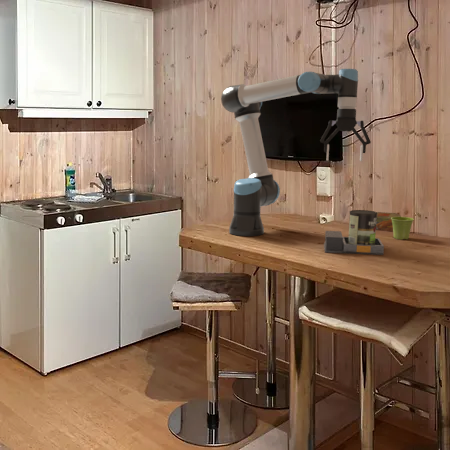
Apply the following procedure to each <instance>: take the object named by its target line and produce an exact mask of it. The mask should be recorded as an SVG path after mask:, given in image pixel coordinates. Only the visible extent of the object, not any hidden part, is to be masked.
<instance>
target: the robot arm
mask: <svg viewBox="0 0 450 450" xmlns="http://www.w3.org/2000/svg"><path fill="white" fill-rule="evenodd" d="M358 86H359V71H358V69H355V68H341V69H339V71H338V74H324V73H318V72H314V71H304V72H303V73H301V74H297V75H293V76H292V75H291V76H288V77H283V78H279V79H274V80H268V81H264V82H259V83H254V84H249V85H246V84H244V83H241V84H237V85H230V86H226V88H225V89H224V90H223V91H222V92H221V96H220V101H221V105H222V107H223V108H224V109H225V110H226V111H227V112H230V113H233V115H234V118H235V119H234V120H235V121H237V122H238V123H239V128H240V133H241V137H242V142H243V147H244V153H245V156H246V157H245V158H246V162H247V168H248V172H249V175H248V177H246V178H240V179H238V180H236V181H235V182H234V186H233V216H232V219H231V222H230V224H229V230H228V233H229V234H231V235H233V236H234V235H235V236H239V237H241V236H242V237H243V236H244V237H255V236H261V235H264V234H265V229H264V224H263V221H262V216H261V208H262V207H266V206H269V205H272V204H275V202H276V201H277V200H278V199H279V197H280V195H281V194H280V193H281V191H280V189H281V188H280V186H279V183H278V182H277V181H276V180H275V179H274V175H273V173H272V172H271V171H269V168H268V167H269V166H268V163H267V162H268V161H267V157H266V152H265V147H264V146H265V145H264V142H263V138H262V131H261V126H260V122H259V118H260V116H261V115H262V113H261V107H262V106H263V102H266V101H271V100H276V99H277V100H278V99H282V98H286V97H291V96H292V97H293V96H299V95H304V94H309V93H310V94H311V93H312V94H316V95H321V94H323V95H325V94H337V108H338V109H337V111H336V112H337V113H336V120H332V119H330V120H329V121H328V125H327V128H326V129H325V131H324V133H323V135H322V136H321V137H320V138H321V139H320V140H319V141H320V143H322V144H323V152H324V153H326V158H325V159H326V160H325V161H327V162H328V161H329V157H330V156H329V155H330V153H329V152H330V144H329V142H331V140H332V139H333V138H334V137H335V136H336V135H337V134H338V133H339V131H340V132H349V133H350V132H352V133H353V134H354V136H356V138H357V139H358V140H359V142H360V143H361V145H360V149H359V150H360V151H359V152H360V153H359V154H360V155H359V162H361V163H362V162H363V158H364V157H363V154H366V151H367V145H370V144H371V143H372V141H371V140H370V137H369V135H368V132H367V130H366V127H365V124H364V120H359V121H357V109H356V108H357V103H358ZM334 125H336V127H337V128H335V130H334V131H333V132H332V133H331V134H330V135H329V136H328V133H330V130H331V128H332V127H333V126H334ZM357 125H358V127H360V130H361V133H363V136H364V138H363V137H362V136H361V135H360V133H359V132H358V131H357V130H356V128H355V127H356V126H357ZM327 136H328V138H327V139H325V138H326V137H327ZM364 139H365V140H364Z"/></svg>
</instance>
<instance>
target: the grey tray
mask: <svg viewBox="0 0 450 450" xmlns="http://www.w3.org/2000/svg"><path fill="white" fill-rule="evenodd" d="M324 239H325V240H324V242H323V249H324V253H330V254H331V253H332V254H351V255H373V256H374V255H376V256H384V254H385V253H384V249H385V245H384V244H383V242H382V241H381V239H380V238H379V237H378V238H377V237H375V245H362V244H348V239H349V236H343V233H342V231H339V230H325V237H324Z"/></svg>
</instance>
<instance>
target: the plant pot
mask: <svg viewBox="0 0 450 450" xmlns="http://www.w3.org/2000/svg"><path fill="white" fill-rule="evenodd" d="M391 219H392V223H393V231H392V233H393V238H394V239H396V240H400V241H402V240H409V238H410V232H411V228H412V224H413V221H414V220H415V219H414V218H413V217H407V216H401V217H391Z"/></svg>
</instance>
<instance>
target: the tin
mask: <svg viewBox="0 0 450 450" xmlns="http://www.w3.org/2000/svg"><path fill="white" fill-rule="evenodd" d="M391 217H402V216H401V215H400V214H399V213H396V212H385V211H384V212H381V211H377V220H376V231H384V232H385V231H386V232H393V223H392V219H391Z"/></svg>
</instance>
